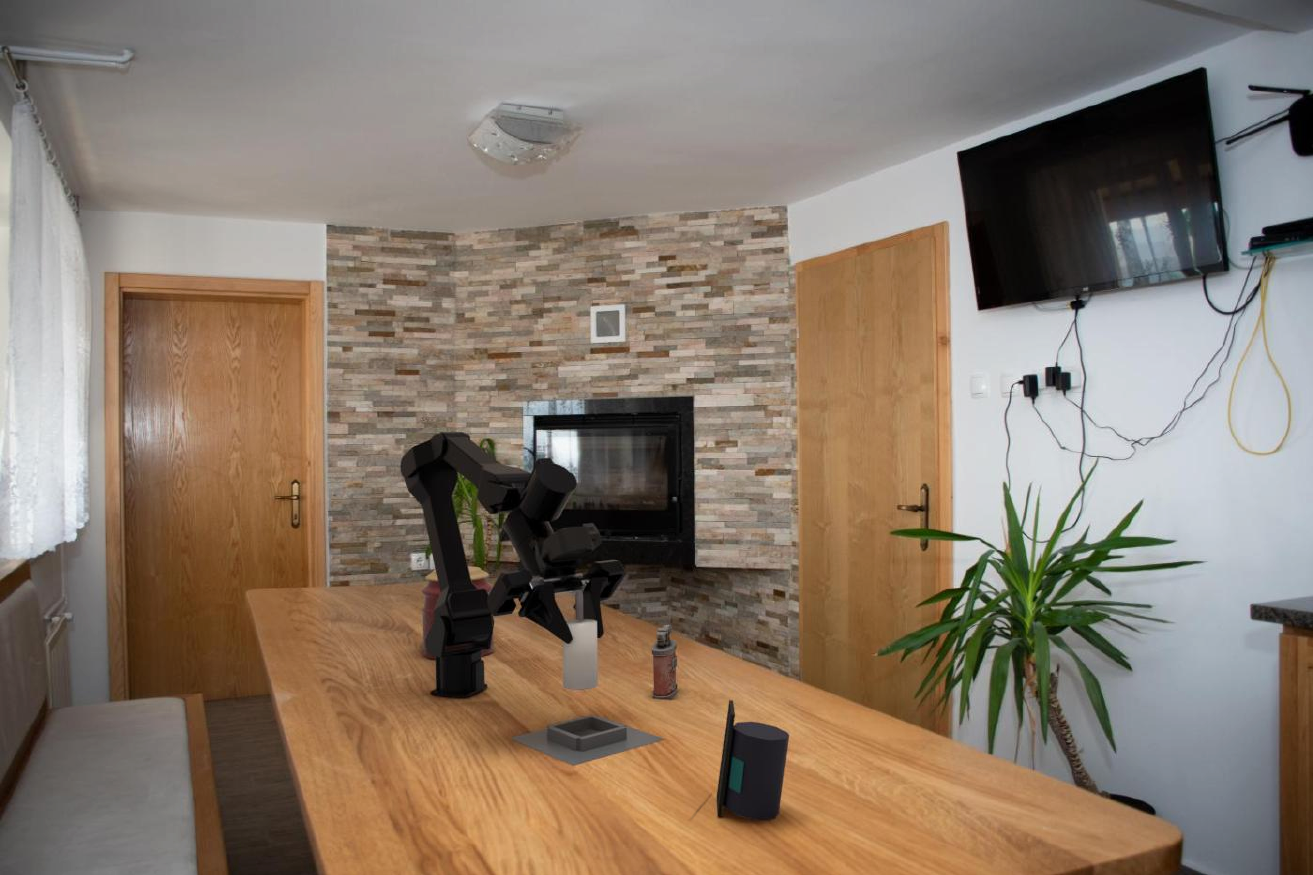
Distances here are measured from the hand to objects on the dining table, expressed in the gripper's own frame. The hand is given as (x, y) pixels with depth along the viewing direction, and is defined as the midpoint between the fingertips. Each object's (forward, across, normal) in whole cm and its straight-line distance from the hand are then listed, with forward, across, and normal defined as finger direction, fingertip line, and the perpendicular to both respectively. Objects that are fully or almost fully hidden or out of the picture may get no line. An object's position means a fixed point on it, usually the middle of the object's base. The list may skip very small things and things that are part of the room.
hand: (586, 639), depth 117 cm
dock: (+9, 0, +9) cm, 13 cm away
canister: (-32, +14, +51) cm, 62 cm away
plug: (+3, 0, +5) cm, 6 cm away
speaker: (+30, 0, -11) cm, 32 cm away
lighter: (+2, +22, +17) cm, 28 cm away
